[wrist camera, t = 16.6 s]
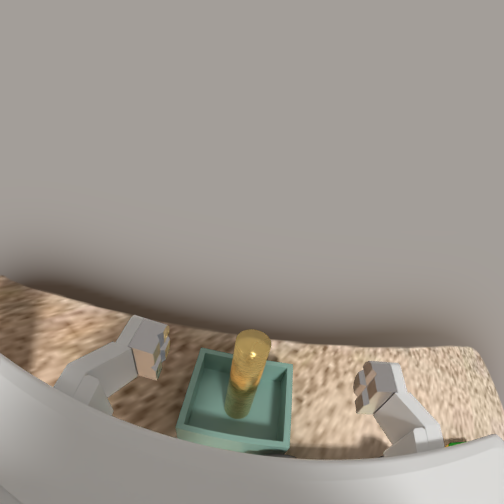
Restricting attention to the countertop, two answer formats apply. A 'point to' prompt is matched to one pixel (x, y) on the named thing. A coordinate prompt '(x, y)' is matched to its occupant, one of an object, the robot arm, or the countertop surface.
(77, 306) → the countertop surface
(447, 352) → the countertop surface
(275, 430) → the tray
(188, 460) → the robot arm
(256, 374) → the pin
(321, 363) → the countertop surface
